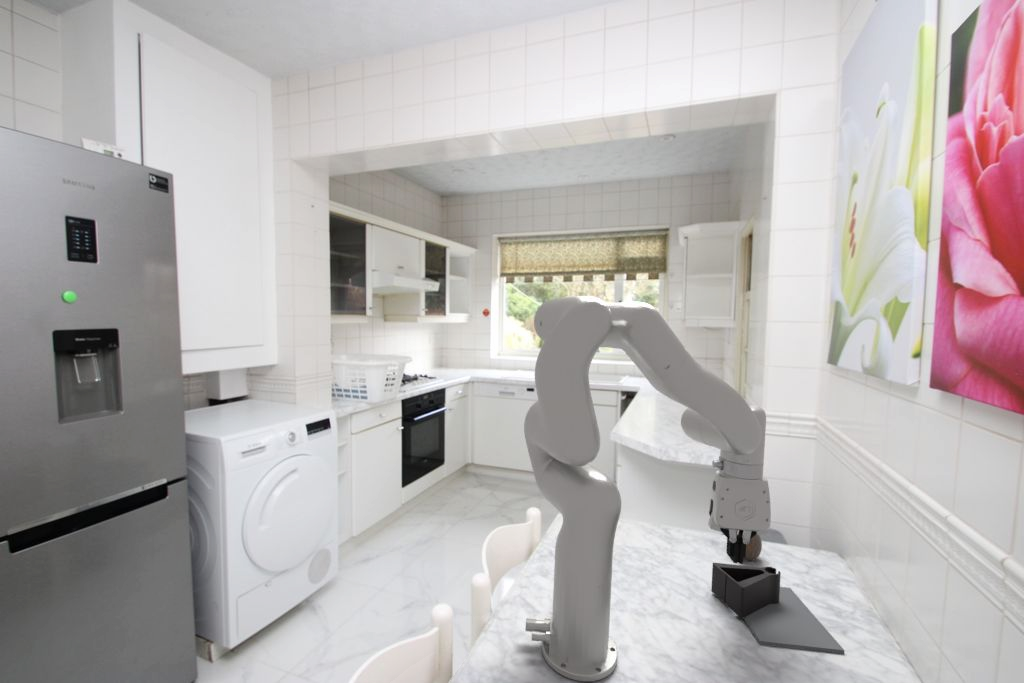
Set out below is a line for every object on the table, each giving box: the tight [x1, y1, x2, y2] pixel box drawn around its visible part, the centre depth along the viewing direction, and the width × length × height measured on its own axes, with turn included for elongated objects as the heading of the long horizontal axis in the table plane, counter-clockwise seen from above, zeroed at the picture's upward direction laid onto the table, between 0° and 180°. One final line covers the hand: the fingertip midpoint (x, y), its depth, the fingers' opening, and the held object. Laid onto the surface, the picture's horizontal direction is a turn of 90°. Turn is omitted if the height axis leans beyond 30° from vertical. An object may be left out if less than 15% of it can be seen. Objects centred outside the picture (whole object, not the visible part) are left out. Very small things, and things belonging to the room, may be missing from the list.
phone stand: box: [711, 562, 781, 619], centre depth 88 cm, size 9×6×12 cm
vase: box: [736, 530, 763, 562], centre depth 107 cm, size 7×7×9 cm
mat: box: [742, 586, 845, 654], centre depth 85 cm, size 14×18×1 cm
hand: (735, 559), depth 86 cm, fingers closed
